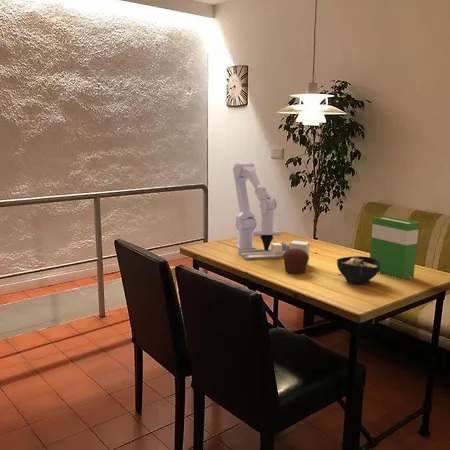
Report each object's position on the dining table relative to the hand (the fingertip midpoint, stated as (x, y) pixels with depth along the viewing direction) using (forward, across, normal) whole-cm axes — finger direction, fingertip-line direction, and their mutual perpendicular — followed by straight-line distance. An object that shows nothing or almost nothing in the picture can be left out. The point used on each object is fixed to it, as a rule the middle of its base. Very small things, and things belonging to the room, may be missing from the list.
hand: (266, 250), depth 236 cm
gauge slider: (+1, +5, -1) cm, 6 cm away
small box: (+3, +9, -20) cm, 22 cm away
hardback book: (+3, +44, -40) cm, 59 cm away
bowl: (+3, +23, -48) cm, 53 cm away
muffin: (+3, +3, -30) cm, 30 cm away
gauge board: (+2, -1, -2) cm, 3 cm away
